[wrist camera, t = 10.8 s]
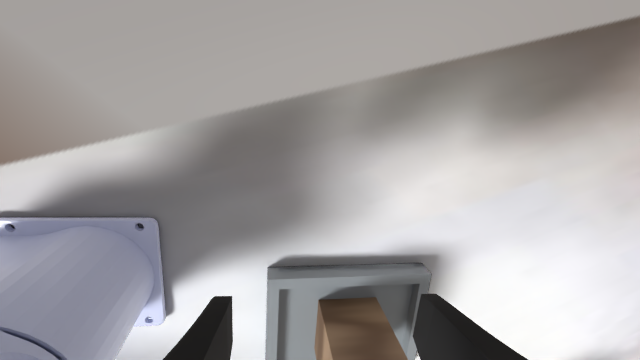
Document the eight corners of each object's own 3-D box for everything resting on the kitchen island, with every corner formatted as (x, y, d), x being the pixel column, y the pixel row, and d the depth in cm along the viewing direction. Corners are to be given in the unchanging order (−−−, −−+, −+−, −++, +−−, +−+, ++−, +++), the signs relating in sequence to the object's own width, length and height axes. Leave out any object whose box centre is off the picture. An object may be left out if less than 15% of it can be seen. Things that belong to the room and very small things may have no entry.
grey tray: (265, 375, 25) (264, 393, 24) (267, 267, 22) (267, 279, 21) (403, 363, 27) (411, 378, 26) (422, 263, 24) (431, 274, 23)
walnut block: (314, 348, 24) (328, 427, 19) (318, 299, 23) (335, 368, 18) (369, 344, 25) (398, 419, 20) (376, 297, 24) (409, 362, 18)
